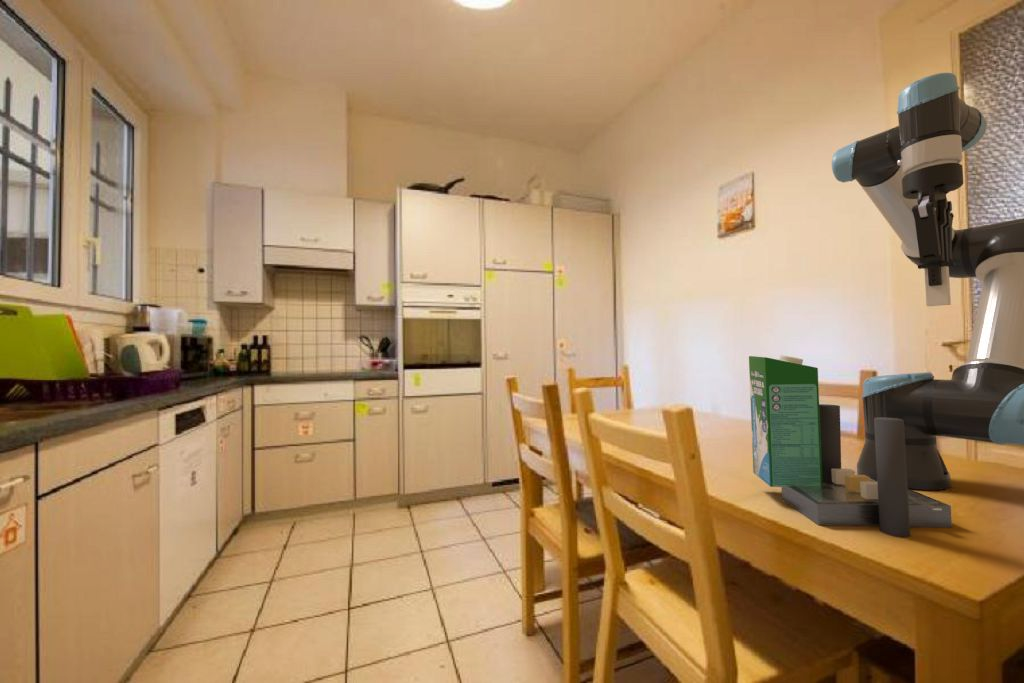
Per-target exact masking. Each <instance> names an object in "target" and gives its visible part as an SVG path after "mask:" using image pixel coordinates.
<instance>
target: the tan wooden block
mask: <svg viewBox="0 0 1024 683" xmlns="http://www.w3.org/2000/svg"><path fill="white" fill-rule="evenodd" d="M860 482H870V477H868V476H866V475H858V474H855V475H845V485H846V489H847V490H849V491H861V489H860Z"/></svg>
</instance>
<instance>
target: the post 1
mask: <svg viewBox="0 0 1024 683" xmlns="http://www.w3.org/2000/svg"><path fill="white" fill-rule="evenodd" d="M819 410H820V435H821V459H822V482H832V472H831V469H842V444H841V441H842V440H841V406H840V405H839V404H823V403H821V404H820V403H819Z"/></svg>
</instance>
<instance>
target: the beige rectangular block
mask: <svg viewBox="0 0 1024 683" xmlns="http://www.w3.org/2000/svg"><path fill="white" fill-rule="evenodd" d="M860 489H861V497H863V498H865V499H878V486H877V482H860Z"/></svg>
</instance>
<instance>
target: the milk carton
mask: <svg viewBox="0 0 1024 683" xmlns="http://www.w3.org/2000/svg"><path fill="white" fill-rule="evenodd" d="M803 362H804V359H802V358H799V357H794V356H793V357H792V356H787V355H783V354H781V355H780V356H779V359H776V358H772V357H767V356H765V357H764V356H755V355H754V356H753V355H749V356H748V370H749V390H750V392H749V393H750V397H749V398H750V416H751V417H750V419H751V422H750V423H751V442H752V443H751V447H752V448H751V449H752V468H753V469H752V472H753V474H754V475H756V476H757V477H758V478H759V479H760V480H762V481H763V483H764V482H765V484H767V485H768V486H769V487H771V488H782V487H788V486H794V485H798V486H823V483H822V459H821V435H820V410H819V404H820V392H819V391H820V390H819V389H820V388H819V368H818V367H815V366H812V365H811V366H810V365H806V364H803Z"/></svg>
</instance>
